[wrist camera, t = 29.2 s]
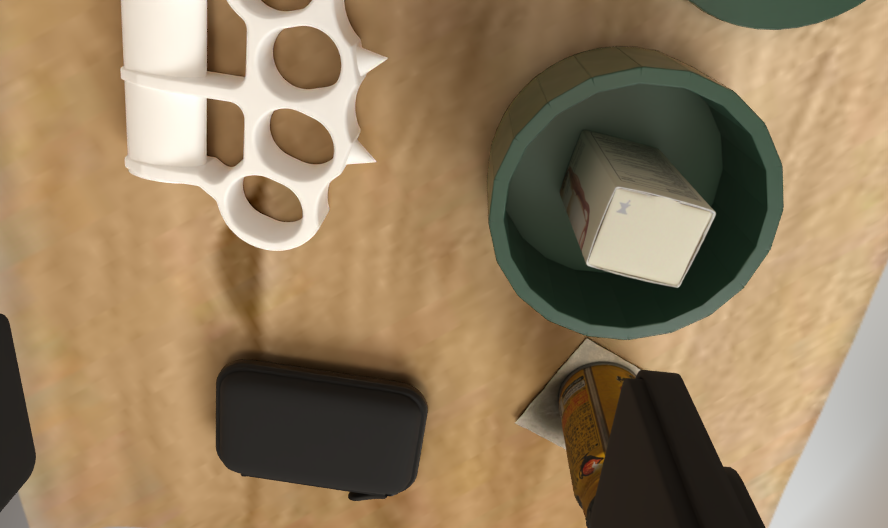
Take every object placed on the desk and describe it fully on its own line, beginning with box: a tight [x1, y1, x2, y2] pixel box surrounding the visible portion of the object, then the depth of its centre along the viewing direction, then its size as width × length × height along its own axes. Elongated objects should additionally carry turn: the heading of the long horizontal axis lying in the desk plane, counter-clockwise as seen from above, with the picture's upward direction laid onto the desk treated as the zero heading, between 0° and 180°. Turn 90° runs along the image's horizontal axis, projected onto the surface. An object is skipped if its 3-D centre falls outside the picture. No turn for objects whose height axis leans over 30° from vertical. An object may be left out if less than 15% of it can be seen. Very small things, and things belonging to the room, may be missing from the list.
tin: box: [487, 46, 784, 340], centre depth 39 cm, size 15×15×8 cm
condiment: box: [515, 338, 640, 528], centre depth 44 cm, size 7×8×12 cm
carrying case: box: [216, 360, 428, 501], centre depth 49 cm, size 11×3×15 cm
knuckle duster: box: [121, 0, 388, 251], centre depth 39 cm, size 3×18×15 cm
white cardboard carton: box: [560, 130, 716, 288], centre depth 37 cm, size 5×4×10 cm
